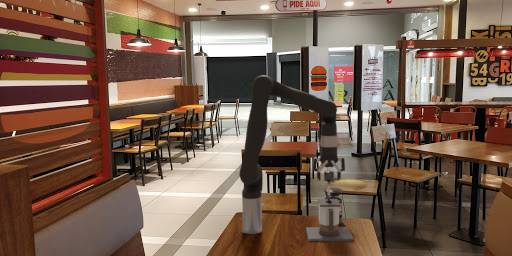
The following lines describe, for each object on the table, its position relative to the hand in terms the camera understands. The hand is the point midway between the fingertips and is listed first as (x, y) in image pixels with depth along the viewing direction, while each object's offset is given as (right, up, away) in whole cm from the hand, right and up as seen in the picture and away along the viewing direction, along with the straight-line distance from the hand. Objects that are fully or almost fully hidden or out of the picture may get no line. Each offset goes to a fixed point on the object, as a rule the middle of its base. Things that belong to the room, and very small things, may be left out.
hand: (328, 179), depth 186 cm
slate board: (+1, -26, +3) cm, 26 cm away
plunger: (0, -11, +1) cm, 11 cm away
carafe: (+1, -25, +2) cm, 25 cm away
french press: (+5, -24, +20) cm, 32 cm away
